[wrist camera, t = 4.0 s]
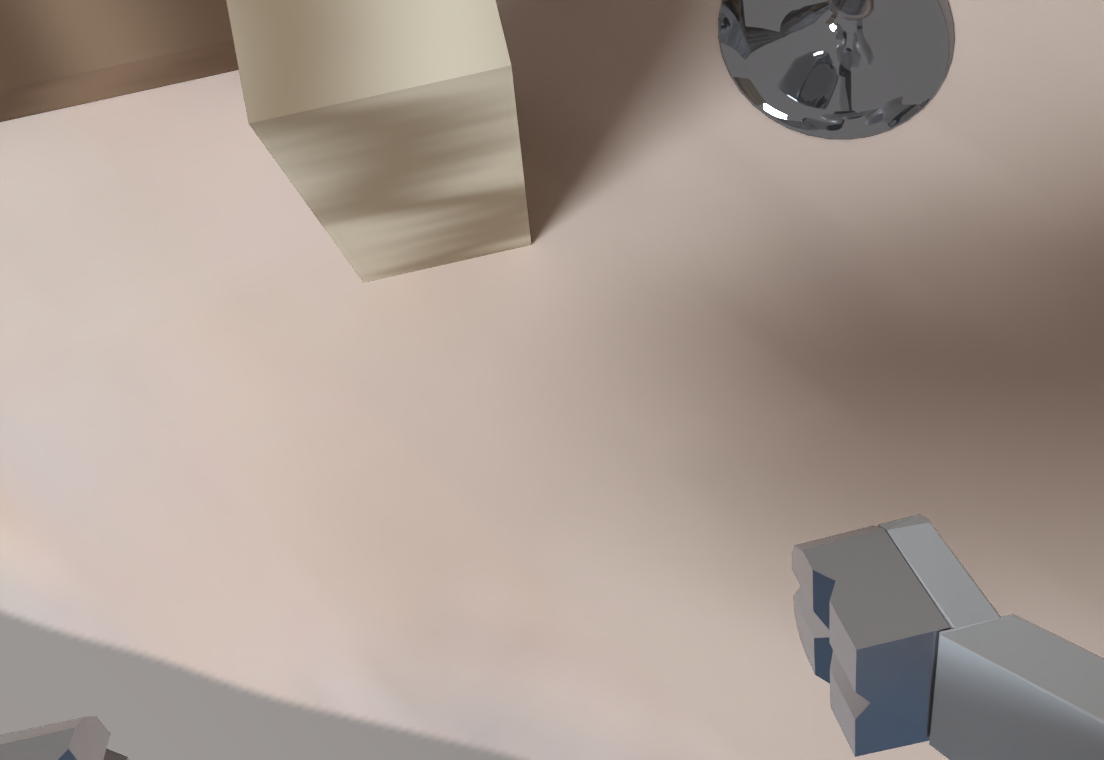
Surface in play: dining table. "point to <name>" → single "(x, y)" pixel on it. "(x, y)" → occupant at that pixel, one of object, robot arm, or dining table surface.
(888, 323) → the dining table surface
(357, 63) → the maple block
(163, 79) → the walnut board
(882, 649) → the robot arm
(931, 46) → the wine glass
